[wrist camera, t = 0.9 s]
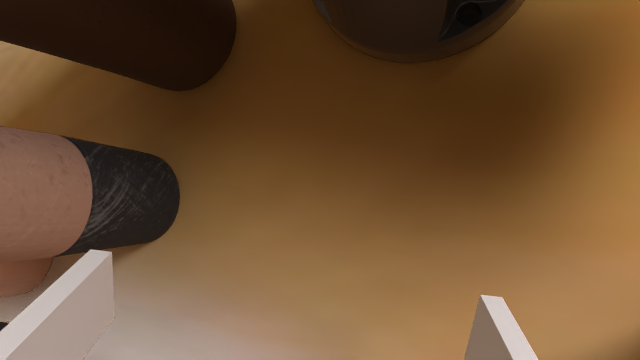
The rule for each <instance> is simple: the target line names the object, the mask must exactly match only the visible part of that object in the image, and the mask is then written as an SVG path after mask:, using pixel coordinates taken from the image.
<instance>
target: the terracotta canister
mask: <svg viewBox="0 0 640 360" xmlns="http://www.w3.org/2000/svg"><path fill="white" fill-rule="evenodd" d="M51 262H52V257H49V258H41V259H31V260H22V261H12V262H3V263H0V298H4V297H9V296H14V295H20V294H24V293H27V292H29V291H31V290H33V289H34V288H35V287H37V286H38V285H39V284H40V283H41V281H42V280H43V279H44V277H45V276H46V274H47V272H48V270H49V268H50V265H51Z"/></svg>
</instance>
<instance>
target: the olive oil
mask: <svg viewBox="0 0 640 360" xmlns="http://www.w3.org/2000/svg"><path fill="white" fill-rule="evenodd" d="M235 30H236V16H235V9H234V5H233V2H232V0H0V41H4V42H7V43H11V44H15V45H18V46H22V47H25V48H29V49H33V50H36V51H40V52H43V53H47V54H50V55H54V56H57V57H61V58H64V59H68V60H71V61H75V62H78V63H81V64H85V65H88V66H92V67H95V68H99V69H102V70H106V71H109V72H112V73H116V74H119V75H122V76H125V77H129V78H132V79H135V80H138V81H141V82H144V83H148V84H151V85H154V86H157V87H160V88H164V89H168V90H174V91H182V90H188V89H192V88H195V87H197V86H199V85H201V84H203V83H204V82H206V81H207V80H209V79H210V78H211V77H212V76H213V75H214V74H215V73H216V72H217V71H218V70H219V69H220V68H221V66H222V65H223V63H224V62H225V60H226V58H227V57H228V55H229V52H230V50H231V47H232V44H233V41H234V37H235Z"/></svg>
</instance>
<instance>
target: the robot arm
mask: <svg viewBox="0 0 640 360" xmlns="http://www.w3.org/2000/svg"><path fill="white" fill-rule="evenodd" d="M312 1H313V3H314V5H315V7H316V9H317V10H318V12H319V13H320V15H321V16H322V17H323V18H324V20H325V21H326V22H327V23H328V24H329V25H330V26H331V28H332V29H333V30H334V31H335V32H336V33H337V34H338V35H339V36H340V37H341V38H342V39H343V40H344V41H346V42H347V43H348V44H349V45H351V46H352V47H354V48H356V49H357V50H359V51H361V52H363V53H365V54H367V55H370V56H373V57H376V58H379V59H383V60H387V61H393V62H402V63H415V62H426V61H432V60H437V59H441V58H445V57H448V56H451V55H454V54H457V53H459V52H461V51H464V50H466V49H468V48H470V47H472V46H474V45H476V44H477V43H479V42H481V41H482V40H484V39H485V38H487V37H488V36H490V35H491V34H492V33H494V32H495V31H496V30H497V29H499V28H500V27H501V26H502V25H503V24H504V23H505V22H506V21H507V20H508V19H509V18H510V17H511V16H512V15H513V14H514V13H515V12H516V11H517V9H518V8H519V7H520V6H521V5H522V3H523V2H524V0H312ZM114 318H115V309H114V288H113V266H112V252H108V251H100V250H91V249H90V250H89V251H88V252H87V253H86V254H85V255H84V256H83V257H82V258H81V259H79V260H78V261H77V262H76V263H75V264H74V265H73V266H72V267H71V268H70V269H68V270H67V271H66V272H65V273H64V274H63V275H62V276H61V277H60V278H59V279H57V280H56V281H55V282H54V283H53V284H52V285H51V286H50V287H49V288H48V289H46V290H45V291H44V292H43V293H42V294H41V295H40V296H39V297H38V298H37V299H35V300H34V301H33V302H32V303H31V304H30V305H29V306H28V307H27V308H26V309H24V310H23V311H22V312H21V313H20V314H19V315H18V316H17V317H16V318H15V319H13V320H12V321H11V322H10V323H4V322H0V360H83V358H84V357H85V356H86V354H87V353H88V352H89V351H90V349H91V348H92V347H93V345H94V344H95V343H96V341H97V340H98V339H99V338H100V336H101V335H102V334H103V332H104V331H105V330H106V328H107V327H108V326H109V324H110V323H111V322H112V321H113V319H114ZM464 359H465V360H538V358H537V357H536V355H535V353H534V352H533V350H532V348H531V346H530V345H529V343H528V341H527V339H526V338H525V336H524V334H523V333H522V331H521V329H520V327H519V326H518V324H517V322H516V320H515V319H514V317H513V315H512V313H511V312H510V310H509V308H508V307H507V305H506V303H505V301H504V300H503V298H502V297H496V296H487V295H480V298H479V302H478V306H477V310H476V314H475V318H474V322H473V326H472V330H471V334H470V338H469V342H468V346H467V350H466V354H465V358H464Z"/></svg>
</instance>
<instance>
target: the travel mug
mask: <svg viewBox="0 0 640 360" xmlns="http://www.w3.org/2000/svg"><path fill="white" fill-rule="evenodd" d="M179 200H180V194H179V186H178V182H177V179H176V176H175V174H174V172H173V171H172V169H171V168H170V166H169V165H168V164H167V163H166V162H165V161H163V160H162V159H160V158H159V157H157V156H154V155H152V154H148V153H143V152H139V151H134V150H129V149H124V148H119V147H114V146H109V145H104V144H99V143H94V142H89V141H84V140H79V139H74V138H69V137H64V136H59V135H54V134H48V133H41V132H35V131H28V130H22V129H15V128H9V127H2V126H0V263H3V262H12V261H22V260H31V259H41V258H49V257H56V256H63V255H70V254H76V253H83V252H88V251H89V250H90V249H91V250H103V249H109V248H116V247H122V246H129V245H135V244H141V243H146V242H150V241H153V240H155V239H157V238H159V237H160V236H162V235H163V234H164V233H165V232H166V231H167V230H168V229H169V228H170V226H171V225H172V223H173V222H174V220H175V217H176V215H177V212H178V207H179Z"/></svg>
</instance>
